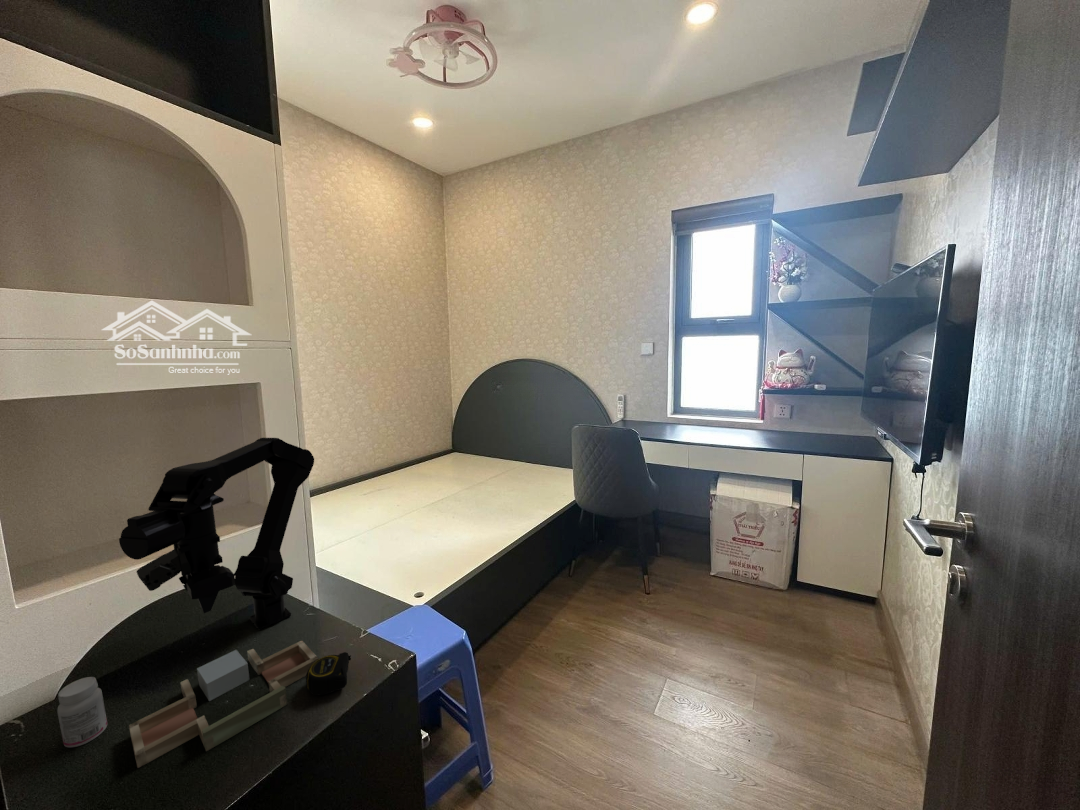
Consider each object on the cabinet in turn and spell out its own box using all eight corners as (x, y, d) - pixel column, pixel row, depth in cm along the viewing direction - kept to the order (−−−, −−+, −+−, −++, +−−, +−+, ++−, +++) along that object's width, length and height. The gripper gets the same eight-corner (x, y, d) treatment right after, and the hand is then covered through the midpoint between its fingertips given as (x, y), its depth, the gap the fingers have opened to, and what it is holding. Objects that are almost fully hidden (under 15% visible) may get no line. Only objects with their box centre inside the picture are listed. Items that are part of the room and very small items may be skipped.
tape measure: (347, 694, 73) (345, 674, 73) (303, 704, 71) (301, 684, 71) (351, 666, 80) (350, 648, 79) (311, 675, 78) (309, 656, 77)
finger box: (126, 719, 69) (124, 702, 69) (293, 639, 88) (291, 625, 87) (142, 788, 58) (139, 769, 57) (329, 679, 76) (328, 664, 76)
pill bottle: (76, 727, 68) (67, 679, 67) (114, 718, 69) (106, 671, 68) (55, 753, 63) (45, 702, 62) (96, 742, 65) (87, 692, 64)
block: (199, 686, 76) (196, 668, 76) (238, 666, 81) (236, 649, 80) (209, 702, 72) (206, 683, 72) (249, 680, 77) (247, 663, 77)
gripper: (130, 535, 78) (142, 613, 80) (145, 566, 66) (159, 657, 68) (205, 516, 87) (214, 587, 89) (230, 541, 75) (240, 622, 77)
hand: (207, 611), depth 80 cm, fingers closed
